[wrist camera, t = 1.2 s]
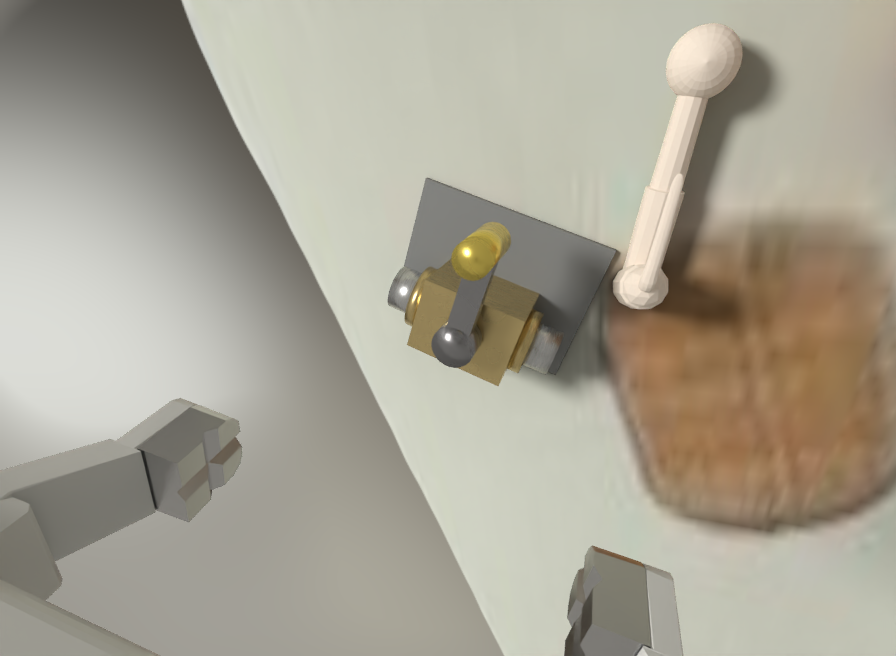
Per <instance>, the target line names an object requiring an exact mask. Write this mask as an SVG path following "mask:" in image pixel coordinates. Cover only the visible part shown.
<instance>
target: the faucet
mask: <svg viewBox="0 0 896 656" xmlns="http://www.w3.org/2000/svg"><path fill="white" fill-rule="evenodd" d="M742 56H743V53H742V44H741V42H740V39H739V37H738V35H737V34H736V33H735V32H734V31H733V30H732V29H730V28H729V27H727V26H725V25H722V24H717V23H710V24H703V25H700V26H697V27H695V28H693V29H691V30H690V31H688V32H687V33H685V34H684V35H683V36H682V37H681V38H680V39H679V40H678V41H677V42H676V44H675V45H674V47H673V48H672V50H671V52H670V55H669V57H668V60H667V65H666V76H667V81H668V83H669V86H670V88H671V89H672V90H673V91H674V92H675V94H677V95H678V96H677V99H676V103H675V106H674V109H673V112H672V115H671V119H670V122H669V125H668V128H667V132H666V135H665V138H664V141H663V145H662V148H661V151H660V154H659V157H658V161H657V164H656V167H655V170H654V174H653V177H652V180H651V183H650V186H646V187H645V191H644V195H643V198H642V202H641V205H640V209H639V213H638V216H637V220H636V223H635V227H634V231H633V234H632V238H631V242H630V245H629V249H628V252H627V256H626V260H625V263H624V267H623V269H622V270H620V271H619V272H618V273H617V275H616V277H615V279H614V280H613V293H614V295H615V297H616V298H617V300H618V301H619V302H620V303H621V304H623V305H625V306H627V307H629V308H631V309H634V308H636V309H651V308H653V307H655V306H656V305H658V304H660V303H662V301H663V300H664V298H665V296H666V295H667V293H668V278H667V277H666V275H665V274H664V272H663V271H662V269H661V267H662V264H663V261H664V258H665V255H666V252H667V248H668V245H669V242H670V239H671V236H672V233H673V229H674V226H675V223H676V220H677V217H678V214H679V210H680V207H681V204H682V201H683V198H684V195H685V192H683V191H682V188H683V185H684V181H685V178H686V175H687V171H688V168H689V164H690V161H691V157H692V154H693V150H694V147H695V143H696V140H697V137H698V133H699V130H700V126H701V123H702V119H703V116H704V112H705V109H706V105H707V102H708V98H711V97H713V96H715V95H717V94H718V93H720V92H721V91H723V90H724V89H725V88H726V87H727V86H728V85H729V84H730V83H731V82H732V80H733V79H734V78H735V76H736V75H737V72H738V70H739V68H740V66H741V61H742Z"/></svg>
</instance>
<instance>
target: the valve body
mask: <svg viewBox="0 0 896 656" xmlns="http://www.w3.org/2000/svg"><path fill="white" fill-rule="evenodd" d="M461 279H462V277H460V276H459V275H458V274H457V273H456V272H455V270H454V268H453V266H452V261H451V259H450V260H449V261H447V262H446V263H445V264H444V265H443V266H441V267H440V268H439V269H436V268H434V267H431V266H430V267H428V268H426V269H425V270H424V271H423V273H420V272H418V271H416V270H413V269H411V268H409V267H406V266H405V267H403V268H402V269H401V270H400V271H399V272H398V273H397V275H396V277H395V279H394V280H393V283H392V285H391V288H390V291H389V295H388V305H389V306H391V307H393V308H395V309H398V310H400V311H402V312H404V313H405V323H406V324H408V325H410V326H412V329H411V333H410V336H409V340H408V344H407V345H408V346H411V347H413V348H415V349H417V350H419V351H422V352H424V353H426V354H428V355H430V356H433V357H435V355H434V353H433V351H432V346H431V343H432V338H433V336H434V334H435V333H436V332H437V331H438V330H439V329H440V327H441V326H442V325H443V324H444V323H445V322H446V321H447V320H448V319H449V316H450V313H451V310H452V307H453V304H454V300H455V297H456V294H457V291H458V288H459V285H460V282H461ZM538 296H539V293H537V292H534V291H532V290H529V289H527V288H524V287H522V286H520V285H517V284H515V283H512V282H510V281H507V280H505V279H503V278H500V277H498V276H495V275H494V276H493V279H492V282H491V284H490V287H489V290H488V293H487V296H486V298H485V301H484V304H483V307H482V310H481V312H480V315H479V318H478V321H477V325H478V327H479V328H480V330H481V333H482V342H481V345H480V347H479V348H478V350H477V351H476V353H475V354H474V356H473V357H472V359H471V361H470V362H469V363H468V364H467V365H465V366H463V367H458V368H459V369H461V370H464V371H466V372H468V373H470V374H472V375H475V376H477V377H479V378H481V379H483V380H486V381H488V382H490V383H492V384H494V385H497V386H499V384H500V382H501V380H502V378H503V376H504V374H505V371H506V369H509V370H511V371H513V372H516V373H519V370H520V368H521V366H522V365H525V366H527V367H529V368H532V369H534V370H536V371H538V372H541V373H543V374H545V375H546V374H547V372H548V370H549V368H550V366H551V364H552V362H553V360H554V358H555V355H556V353H557V351H558V348H559V346H560V344H561V341H562V338H563V336H564V333H563V332H560V331H558V330H556V329H553V328H551V327H549V326H546V325H544V324H542V323H540V322H541V320H542V318H543V316H544V313H542V312H539V311H537V310H534V309H533V308H534V306H535V304H536V301H537V299H538ZM435 358H436V357H435Z"/></svg>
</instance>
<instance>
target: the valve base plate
mask: <svg viewBox="0 0 896 656" xmlns="http://www.w3.org/2000/svg"><path fill="white" fill-rule="evenodd" d="M488 222H497V223H500V224H502V225H503V226H505V227H506V228H507V230H508V231H509V233H510V236H511V245H510V248H509V250H508V251H507V252H506V253H505V255H504V256H503V257H502V258H501V259H500V260H499V262H498V265H497V268H496V271H495V273H494V275H495V276H498V277H500V278H503V279H505V280H507V281H510V282H512V283H515V284H517V285H520V286H522V287H524V288H527V289H529V290H532V291H534V292H537V293H539V296H538V299H537V301H536V304H535V306H534V308H533V309H534V310H537V311H539V312H542V313H544V316H543V318H542V320H541V322H540V323H542V324H544V325H546V326H549V327H551V328H553V329H556V330H558V331H560V332H563V333H564V336H563V338H562V341H561V344H560V346H559V348H558V351H557V353H556V355H555V358H554V360H553V362H552V364H551V366H550V368H549V370H548V372H549V373H552V374H554V375H556V373H557V371H558V369H559V367H560V365H561V363H562V360H563V358H564V356H565V354H566V352H567V350H568V348H569V346H570V344H571V342H572V340H573V338H574V336H575V334H576V332H577V330H578V328H579V326H580V324H581V322H582V320H583V318H584V316H585V313H586V311H587V309H588V307H589V305H590V303H591V301H592V299H593V297H594V295H595V293H596V291H597V289H598V287H599V285H600V283H601V281H602V279H603V277H604V275H605V273H606V271H607V269H608V267H609V264H610V262H611V260H612V258H613V256H614V254H615V252H616V249H613V248H611V247H608V246H605V245H603V244H600V243H597V242H595V241H592V240H590V239H587V238H584V237H582V236H579V235H577V234H574V233H571V232H569V231H566V230H563V229H561V228H558V227H556V226H553V225H550V224H548V223H545V222H542V221H540V220H537V219H535V218H532V217H529V216H527V215H524V214H521V213H519V212H516V211H514V210H511V209H508V208H506V207H503V206H500V205H498V204H495V203H493V202H490V201H487V200H485V199H482V198H479V197H477V196H474V195H472V194H469V193H466V192H464V191H461V190H458V189H456V188H453V187H451V186H448V185H445V184H443V183H440V182H438V181H435V180H432V179H430V178H426V180H425V184H424V188H423V192H422V196H421V200H420V204H419V208H418V212H417V216H416V220H415V224H414V228H413V232H412V236H411V240H410V244H409V248H408V252H407V256H406V260H405V264H404V267H405V266H406V267H409V268H411V269H413V270H416V271H418V272H420V273H423V271H424V270H425V269H426V268H428V267H430V266H431V267H434V268H436V269H439V268H440V267H441V266H443V265H444V264H445V263H446V262H447V261H449V260H450V259H451V256H452V252H453V250H454V248H455V247H456V246H457V245H458V244H459V243H460V242H462V241H463V240H464V239H466V238H467V237H468V236H469V235H471V234H472V233H473V232H475V231H476V230H477V229H478V228H480V227H481V226H482V225H484V224H485V223H488Z"/></svg>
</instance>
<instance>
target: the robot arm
mask: <svg viewBox="0 0 896 656" xmlns="http://www.w3.org/2000/svg"><path fill="white" fill-rule="evenodd" d="M239 432H240V426H239V421H238V420H236V419H233V418H231V417H228V416H226V415H223V414H221V413H218V412H216V411H213V410H210V409H208V408H205V407H203V406H200V405H197V404H194V403H192V402H189V401H187V400H184V399H181V398H179V399H175V400H172V401H170V402H169V403H168V404H166V405H165V406H164V407H162V408H161V409H159V410H158V411H157V412H155V413H154V414H152V415H151V416H150V417H148V418H147V419H146V420H144V421H143V422H141V423H140V424H138V425H137V426H136V427H134V428H133V429H132V430H130V431H129V432H127V433H126V434H125V435H123V436H122V437H120V438H119V439H118V440H116V441H114V440H111V439H108V440H105V441H101V442H98V443H94V444H92V445H87V446H84V447H80V448H77V449H73V450H70V451H67V452H63V453H59V454H56V455H52V456H49V457H45V458H42V459H38V460H35V461H31V462H28V463H24V464H21V465H17V466H14V467H10V468H7V469H4V470H0V656H160V655H158V654H156V653H154V652H152V651H150V650H147V649H145V648H143V647H141V646H139V645H137V644H135V643H133V642H131V641H129V640H127V639H125V638H122V637H120V636H118V635H116V634H114V633H112V632H110V631H108V630H106V629H104V628H102V627H100V626H98V625H95V624H93V623H91V622H89V621H87V620H85V619H83V618H81V617H79V616H77V615H75V614H72V613H70V612H68V611H66V610H64V609H62V608H60V607H58V606H56V605H54V604H51V603H50V602H47V601H45V600H46V599H47V598H49V596H51V595H52V594H53V593H54V592H55V591H56V590H57V589H58V588H59V587H60V586H61V584H62V576H61V574H60V572H59V570H58V567H57V565H56V563H55V561H57V560H59V559H61V558H63V557H65V556H67V555H69V554H71V553H73V552H75V551H77V550H79V549H81V548H83V547H85V546H87V545H90V544H92V543H94V542H96V541H98V540H100V539H102V538H104V537H106V536H108V535H110V534H112V533H114V532H116V531H118V530H120V529H122V528H124V527H126V526H128V525H130V524H133V523H135V522H137V521H139V520H141V519H143V518H145V517H147V516H149V515H151V514H153V513H155V510H157V511H160V512H163V513H165V514H168V515H171V516H173V517H176V518H179V519H181V520H184V521H187V522H190V521H191V520H192V518H194V517H195V515H196V514H197V513H198V512H199V511H200V510H201V509H202V508H203V507H204V506H205V505H206V504H207V503H208V502H209V501H210V500H211V495H212V490H213V489H215V488H218V487H221V486H223V485H225V484H226V483H227V482H228V481H229V480H230V478H231V477H233V476H234V474H235V472H236V470H237V468H238V467H239V465H240V462H241V457H242V446H241V444H240V443H239V441H238V440H237V438H236V437H235V436H236V435H237V434H238V433H239ZM567 618H568V620H569V622H570V624H571V626H572V628H571V630H570V632H569V634H568V636H567V638H566V640H565V652H564V656H683V650H682V642H681V634H680V627H679V619H678V612H677V604H676V596H675V589H674V581H673V578H672V576H671V574H670V573H668V572H666V571H663V570H660V569H657V568H654V567H652V566H649V565H646V564H642V563H641V562H639V561H636V560H633V559H630V558H627V557H624V556H621V555H618V554H615V553H612V552H610V551H607V550H604V549H601V548H598V547H595V546H591V547H590V548H589V549H588V551H587V553H586V555H585V562H584V568H582V569H580V570H578V572H577V574H576V577H575V579H574V582H573V585H572V589H571V593H570V598H569V605H568V615H567Z"/></svg>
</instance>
